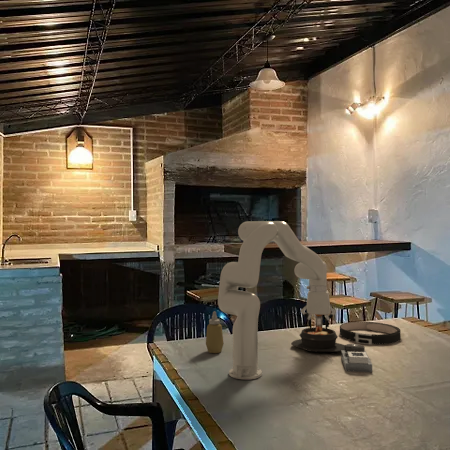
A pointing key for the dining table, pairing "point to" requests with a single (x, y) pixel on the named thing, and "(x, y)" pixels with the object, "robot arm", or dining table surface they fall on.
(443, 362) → the dining table surface
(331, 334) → the casserole
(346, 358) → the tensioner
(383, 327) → the belt
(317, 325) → the orange and grey cylinder
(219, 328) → the squeeze bottle
